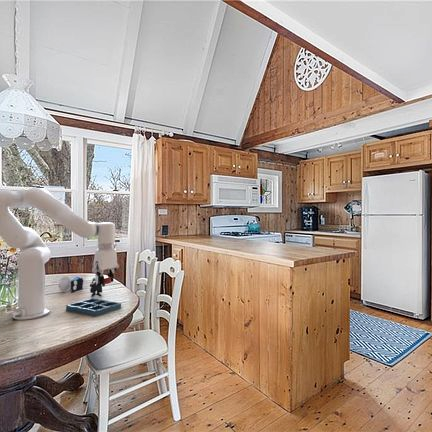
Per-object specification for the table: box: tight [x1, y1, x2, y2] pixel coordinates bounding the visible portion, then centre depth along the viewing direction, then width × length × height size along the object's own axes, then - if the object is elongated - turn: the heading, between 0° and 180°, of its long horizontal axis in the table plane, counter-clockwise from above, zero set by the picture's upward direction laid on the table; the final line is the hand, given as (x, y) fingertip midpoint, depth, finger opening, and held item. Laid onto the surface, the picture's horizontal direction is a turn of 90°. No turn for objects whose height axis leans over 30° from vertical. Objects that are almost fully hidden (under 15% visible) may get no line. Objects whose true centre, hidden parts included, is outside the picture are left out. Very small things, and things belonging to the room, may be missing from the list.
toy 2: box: [89, 271, 106, 298], centre depth 181 cm, size 8×20×15 cm
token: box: [103, 275, 112, 285], centre depth 153 cm, size 5×5×3 cm
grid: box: [65, 297, 122, 318], centre depth 152 cm, size 14×20×3 cm
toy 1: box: [57, 276, 84, 294], centre depth 185 cm, size 9×11×15 cm
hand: (105, 282), depth 153 cm, fingers closed on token, 4 cm apart
